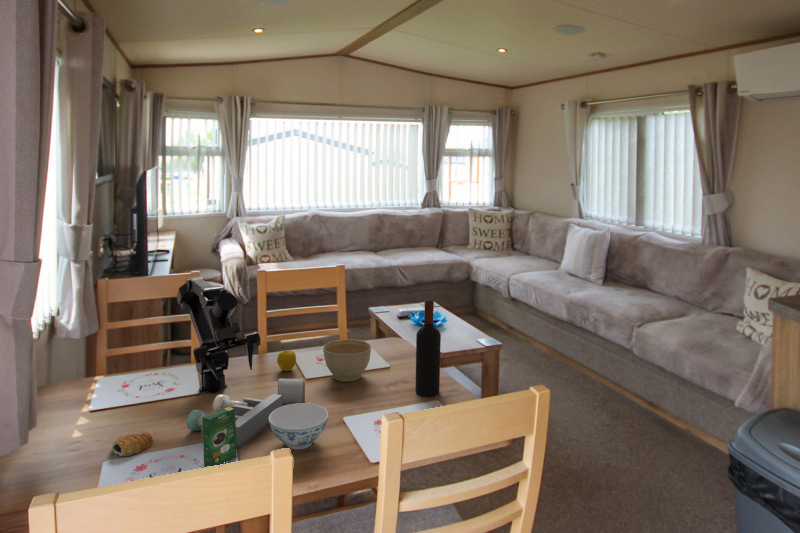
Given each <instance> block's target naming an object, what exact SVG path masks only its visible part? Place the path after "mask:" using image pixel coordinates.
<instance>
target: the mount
mask: <svg viewBox="0 0 800 533" xmlns="http://www.w3.org/2000/svg"><path fill="white" fill-rule="evenodd" d="M242 400H243V401H242V402H245V403H248V406H242V405H236V404H235V405H233V406H232V408H235V422H236V450H241V449H242V448H243V447H245V446H246V445H247V444H249V443H250V442H251V441H252V440H254V439H255V438H256V437H257V436H259V434H261V433H262V432H263V431H265V430H266V429H267V428H268V427H271V426H270V423H269V415H270V414H271V413H272V412H273V411H274V410H275V409H277V408H279V407H282V406H283V405H282V395H278V393H272V394H270V395H269V396H268V397H266V398H265V399H260V398H252V397H248V396H247V397H244V398H242Z"/></svg>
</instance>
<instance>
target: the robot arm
mask: <svg viewBox="0 0 800 533" xmlns="http://www.w3.org/2000/svg"><path fill="white" fill-rule="evenodd" d="M176 300H177V301H176V302H177V304H178V305H179V306H180V308H181V310H182V311H183V312H185V313H186V314H188V316H189V318H190V320H191V323H192V325H193V328H194V331H195V334H196V336H197V337H196V338H197V339H198V342H199V345H200V346H199V347H196V348H194V349H193V350H192V353H193V357H194V359H195V367H196V371H197V372H198V373H199V375H200V376H201V380H200V381H201V387H200V388H198V391H199V390H200V391H199V392H205V393H210V394H211V393H212V394H216V393H218V392H220V391H222V390H223V389H225V388H227V387H228V384H227V383H226V375H225V373H224V372H225V371H226V370H228V367H229V361H230V360H229V359H230V358H229V357H230V355H229V354H228V351H230V350H234V349H237V348H240V347H241V348H242V347H244V346H246V352H247V353H246V355H247V360H248V366H249V370H250V371H253V356H254V352H255V350H257V349H258V347H260V346H261V342H262V340H261V335H260V333H259V332H258V331H253V332H251V333H246V334H244V338H242V339H238V340H237V335H236V334H238V333H241V328H240V324H239V321H234V322H232V320H231V316H232V314H233V313H234V311H235V310H236V307H237V305H238V299H237V297H236V296H235V295H234V294H233V293H230V292H229V291H228V289H225V287H224V286H222V285H212V284H210V283H209V282H207V281H206V280H205V279H204V277H201V276H198V277H189V278H188V279H186V280H185V283H184V284H182V285H181V286H180V287H178V290H177V293H176ZM210 307H211V308H210ZM204 308H210V309H209V310H208V312H207V315H208V316H207V315H206V313H205V310H204ZM207 317H208V318H207ZM208 320H209V321H208ZM209 323H210V324H209Z"/></svg>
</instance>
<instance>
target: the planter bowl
mask: <svg viewBox="0 0 800 533" xmlns="http://www.w3.org/2000/svg"><path fill="white" fill-rule="evenodd" d="M322 350H323V358H324V361H325V364H326V367H327V368H328V370H329V372H330V373H331V374H332V376H333V379H334V380H336V381H338V382H344V383H345V382H346V383H347V382H354V381H355V382H356V381H359V380H360V379H361V378H362V375H363V373H364V372H365V370H366V369H367V367H368V366H369V365H368V364H369V362H370V360H371V359H370V358H371V350H372V345H371V344H370V343H369V342H367V341H364V340H360V339H339V340H333V341H329V342H327V343H326V344H324V345H323V346H322Z"/></svg>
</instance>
